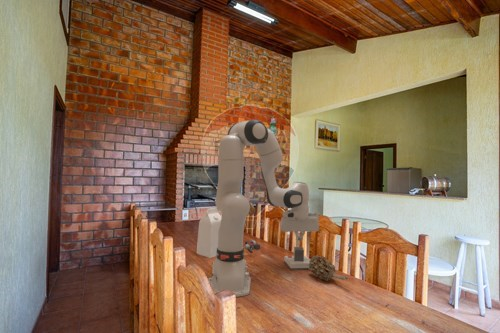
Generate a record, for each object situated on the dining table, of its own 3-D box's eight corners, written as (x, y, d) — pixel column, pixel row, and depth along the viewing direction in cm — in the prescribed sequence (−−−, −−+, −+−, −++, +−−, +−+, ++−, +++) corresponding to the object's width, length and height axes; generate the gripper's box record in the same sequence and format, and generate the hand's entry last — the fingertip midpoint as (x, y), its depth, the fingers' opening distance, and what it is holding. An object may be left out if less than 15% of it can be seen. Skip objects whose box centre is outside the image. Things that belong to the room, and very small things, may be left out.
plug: (303, 265, 138) (303, 250, 138) (294, 264, 139) (294, 249, 139) (302, 261, 144) (302, 247, 144) (293, 261, 144) (294, 246, 144)
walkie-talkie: (242, 244, 179) (250, 254, 159) (242, 238, 179) (250, 246, 159) (254, 244, 181) (264, 253, 162) (255, 237, 181) (264, 245, 162)
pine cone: (302, 275, 127) (303, 254, 127) (316, 271, 133) (316, 251, 133) (343, 293, 110) (344, 268, 110) (357, 288, 115) (357, 264, 115)
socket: (314, 269, 136) (314, 262, 136) (290, 269, 134) (290, 262, 134) (305, 261, 148) (305, 254, 148) (284, 261, 146) (284, 255, 146)
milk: (211, 249, 166) (213, 206, 166) (225, 253, 158) (226, 208, 159) (196, 253, 156) (197, 208, 157) (210, 258, 149) (211, 210, 149)
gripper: (316, 212, 146) (316, 237, 146) (279, 212, 143) (279, 238, 143) (321, 214, 140) (320, 241, 140) (282, 214, 137) (282, 241, 137)
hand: (299, 239), depth 141 cm, fingers closed
